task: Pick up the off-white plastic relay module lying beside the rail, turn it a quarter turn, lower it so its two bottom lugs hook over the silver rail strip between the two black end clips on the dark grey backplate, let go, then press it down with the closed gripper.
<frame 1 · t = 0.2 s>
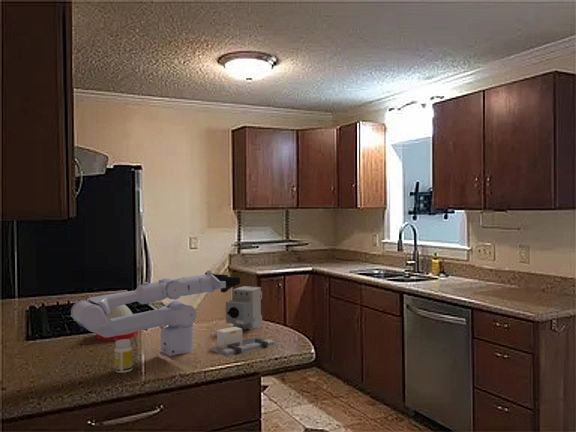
hand: (233, 279, 174), 21 cm above the countertop, tool horizontal, fingers open, 7 cm apart
rail board: (244, 349, 166), on the countertop
kitchen timer: (117, 336, 186), on the countertop
supplement bottle: (123, 371, 147), on the countertop
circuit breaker: (243, 331, 189), on the countertop
module: (229, 345, 167), point 1 cm above the countertop, touching rail board
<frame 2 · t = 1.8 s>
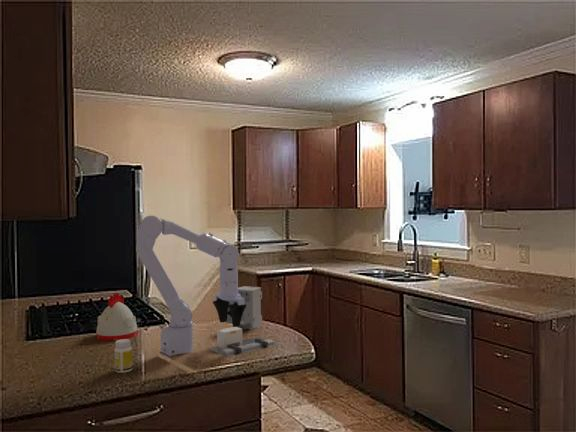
hand: (229, 324, 167), 8 cm above the countertop, tool pointing down, fingers open, 7 cm apart
nothing on the countertop moved.
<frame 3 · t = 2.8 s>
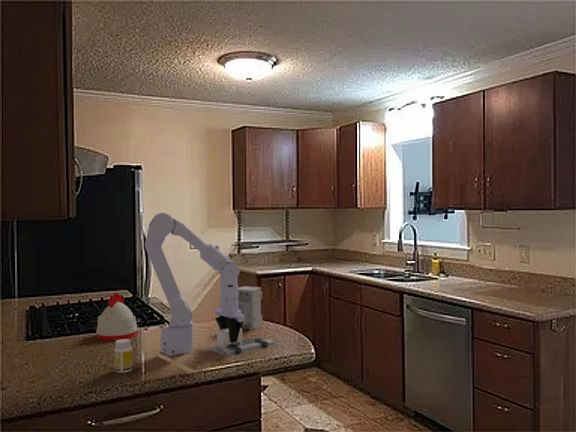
hand: (229, 340, 167), 3 cm above the countertop, tool pointing down, fingers closed on module, 4 cm apart
module: (229, 345, 167), point 1 cm above the countertop, touching gripper, rail board
everything else where it was.
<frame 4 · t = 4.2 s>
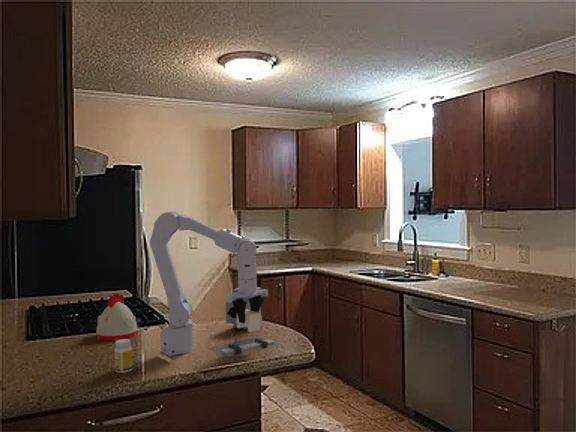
hand: (248, 321, 164), 9 cm above the countertop, tool pointing down, fingers closed on module, 4 cm apart
module: (248, 328, 164), point 7 cm above the countertop, touching gripper
everything else where it was.
when the fingers open (4 cm above the countertop, at t = 5.6 s): module stays where it is, resting on rail board.
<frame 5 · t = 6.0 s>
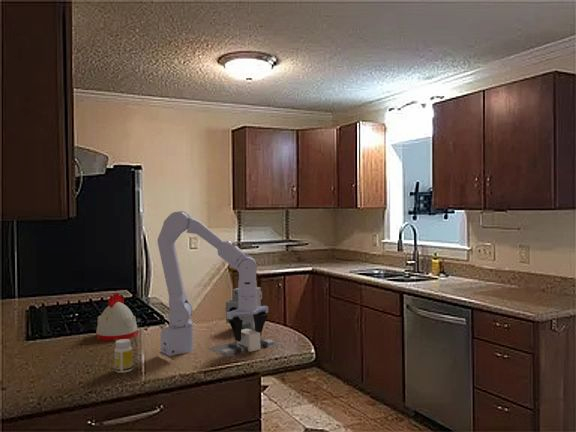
hand: (248, 338, 164), 4 cm above the countertop, tool pointing down, fingers open, 7 cm apart
module: (248, 348, 164), point 1 cm above the countertop, touching rail board
everything else where it was.
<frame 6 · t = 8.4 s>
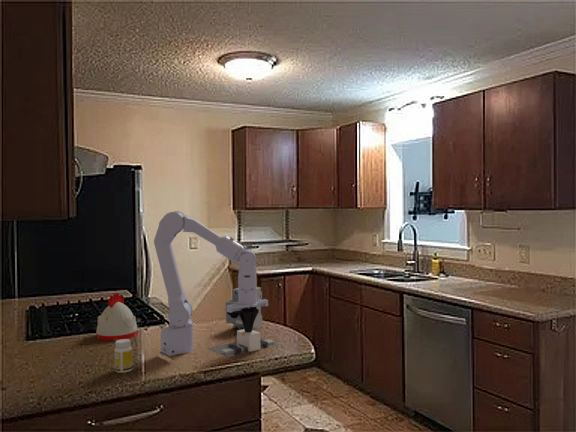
hand: (248, 331, 164), 6 cm above the countertop, tool pointing down, fingers closed, pressing on module
module: (248, 348, 164), point 1 cm above the countertop, touching gripper, rail board
everything else where it was.
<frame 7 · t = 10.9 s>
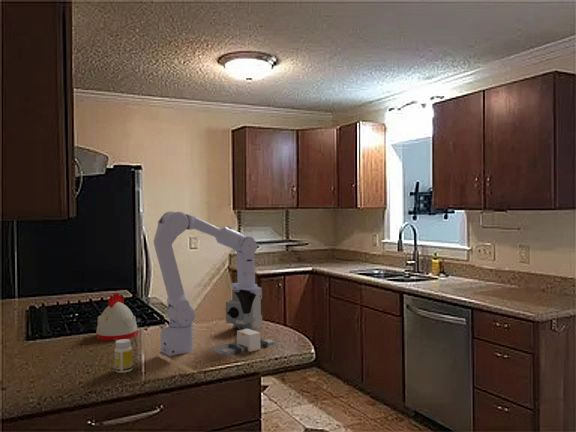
hand: (246, 313, 173), 10 cm above the countertop, tool pointing down, fingers closed
module: (248, 348, 164), point 1 cm above the countertop, touching rail board
everything else where it was.
at the end: module 0.2 cm from the target spot on the rail board, point 1.0 cm above the rail board's base; module tilted 0°; module touching rail board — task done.
